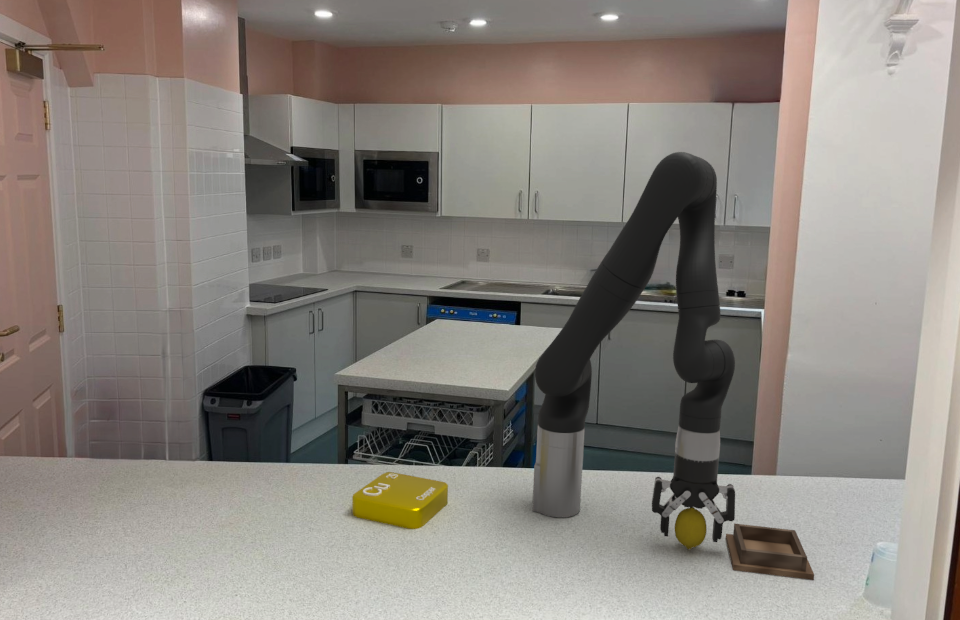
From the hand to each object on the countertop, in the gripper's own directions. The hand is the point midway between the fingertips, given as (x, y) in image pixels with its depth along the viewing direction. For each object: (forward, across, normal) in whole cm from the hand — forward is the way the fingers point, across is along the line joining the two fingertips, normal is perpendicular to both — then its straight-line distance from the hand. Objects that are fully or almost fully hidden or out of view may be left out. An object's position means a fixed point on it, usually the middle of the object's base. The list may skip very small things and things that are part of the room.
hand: (690, 537), depth 139 cm
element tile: (+3, -55, +3) cm, 55 cm away
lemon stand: (+2, +13, 0) cm, 14 cm away
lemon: (+2, 0, 0) cm, 2 cm away
